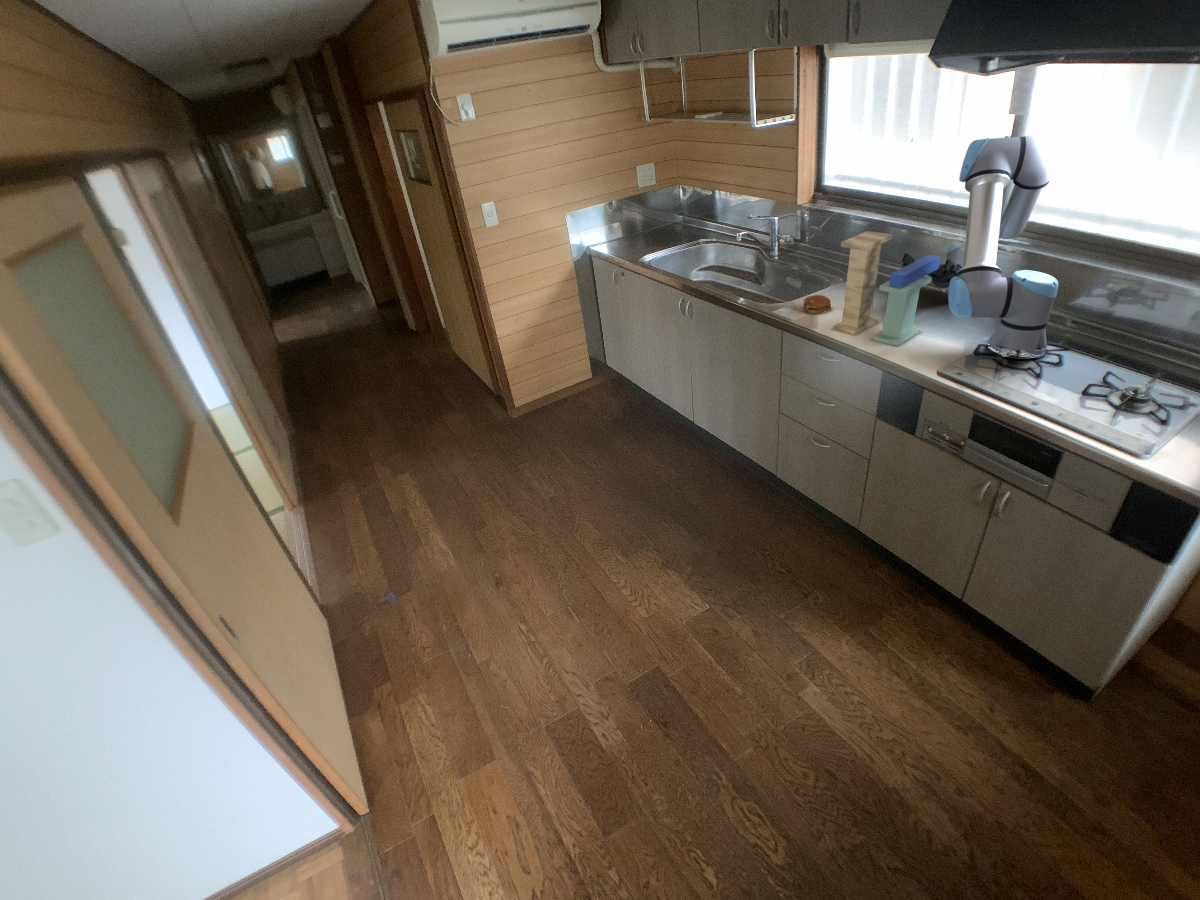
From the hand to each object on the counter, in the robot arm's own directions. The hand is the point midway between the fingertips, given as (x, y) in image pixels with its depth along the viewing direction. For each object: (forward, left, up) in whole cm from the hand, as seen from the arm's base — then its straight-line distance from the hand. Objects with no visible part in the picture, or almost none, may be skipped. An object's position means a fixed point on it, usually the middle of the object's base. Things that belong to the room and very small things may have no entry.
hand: (924, 260), depth 195 cm
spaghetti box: (+3, +4, -4) cm, 6 cm away
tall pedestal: (+18, +1, -22) cm, 29 cm away
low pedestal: (+5, +9, -22) cm, 25 cm away
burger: (+32, -13, -23) cm, 41 cm away
